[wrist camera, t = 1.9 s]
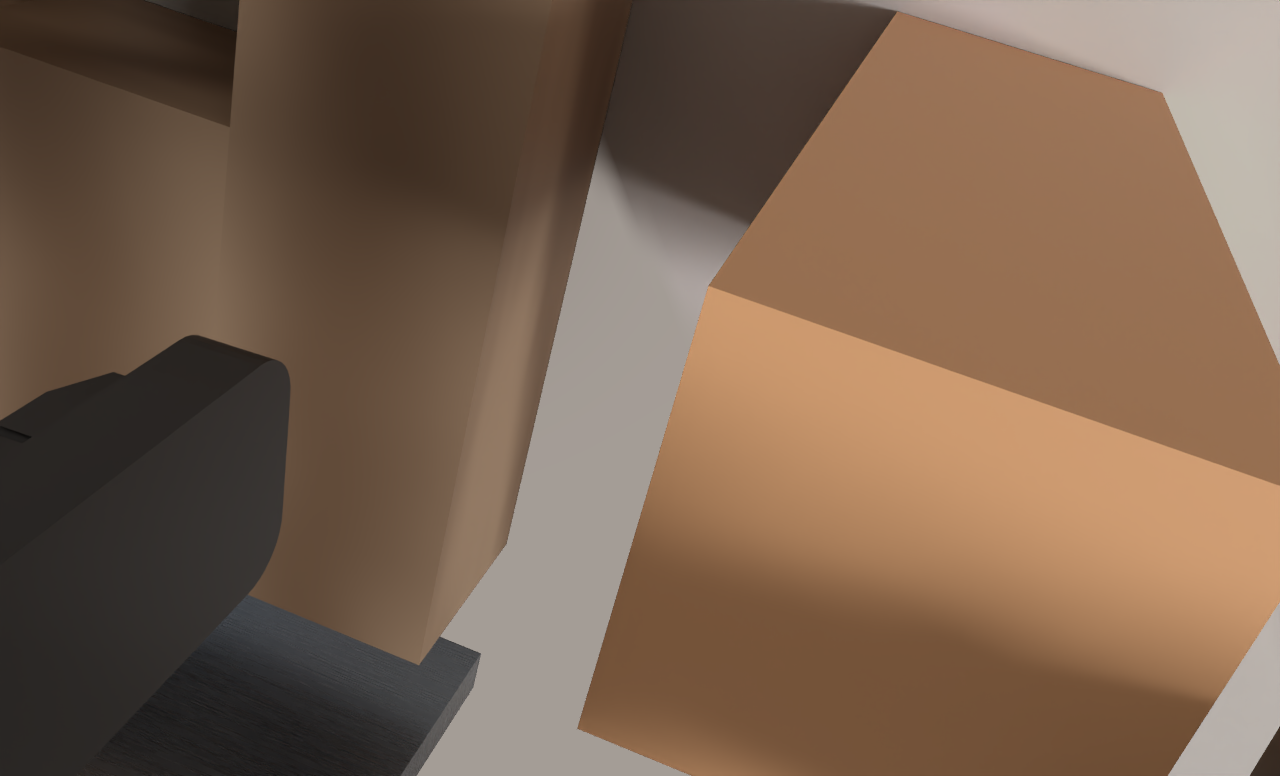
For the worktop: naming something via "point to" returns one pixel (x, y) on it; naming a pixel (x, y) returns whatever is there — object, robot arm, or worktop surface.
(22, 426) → the robot arm
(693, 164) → the worktop surface
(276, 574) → the socket block
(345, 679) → the thin grey panel
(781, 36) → the worktop surface
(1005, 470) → the peg
